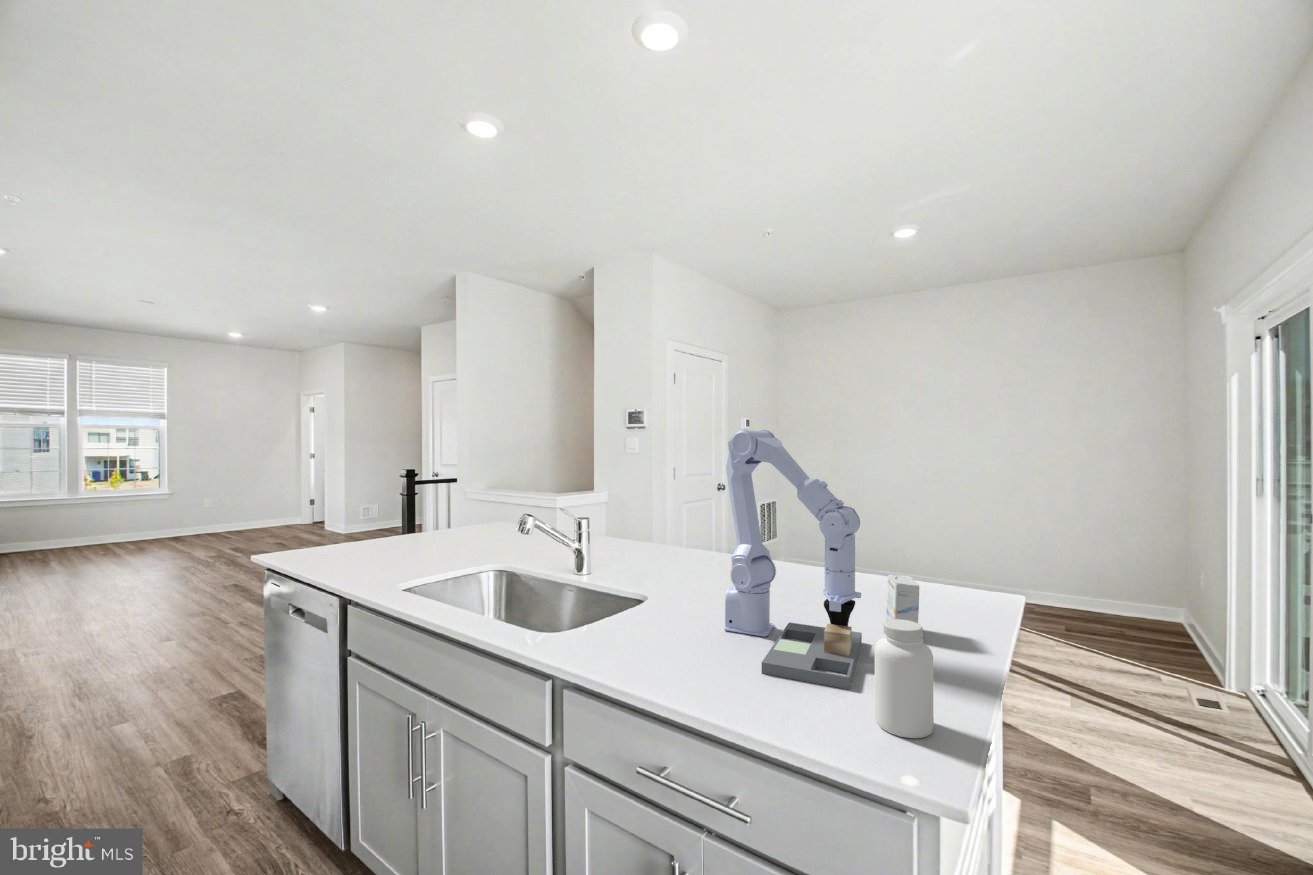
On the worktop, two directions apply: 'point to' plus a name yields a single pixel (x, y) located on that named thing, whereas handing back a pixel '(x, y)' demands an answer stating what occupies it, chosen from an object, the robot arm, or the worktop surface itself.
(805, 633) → the board
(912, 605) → the ink box
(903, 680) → the pill bottle
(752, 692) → the worktop surface
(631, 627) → the worktop surface
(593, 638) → the worktop surface
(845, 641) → the block
